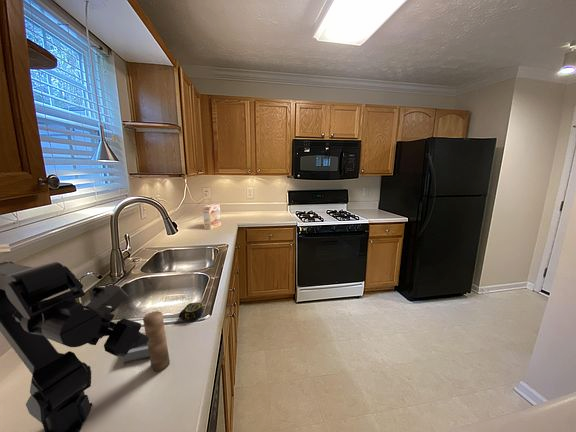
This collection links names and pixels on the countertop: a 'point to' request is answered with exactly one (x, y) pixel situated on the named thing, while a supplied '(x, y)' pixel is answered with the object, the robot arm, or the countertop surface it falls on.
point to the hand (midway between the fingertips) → (135, 335)
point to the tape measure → (191, 311)
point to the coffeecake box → (212, 216)
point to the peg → (156, 341)
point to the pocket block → (137, 353)
